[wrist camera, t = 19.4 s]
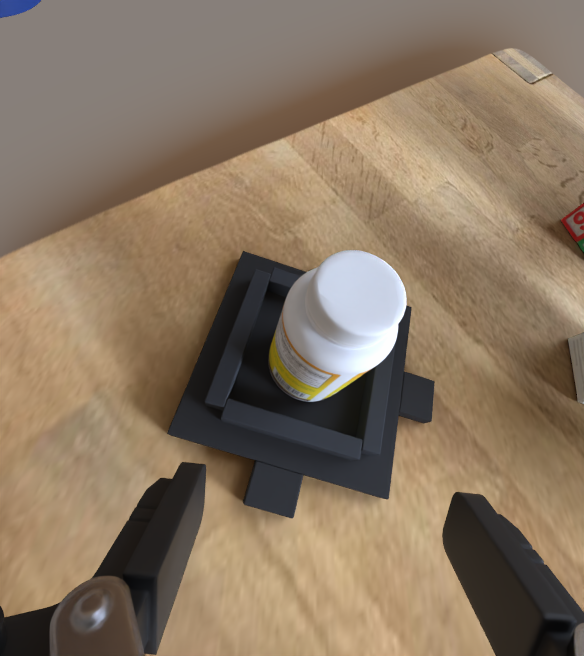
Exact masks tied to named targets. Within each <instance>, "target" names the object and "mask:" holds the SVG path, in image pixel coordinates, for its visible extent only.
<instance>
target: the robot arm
mask: <svg viewBox="0 0 584 656" xmlns="http://www.w3.org/2000/svg"><path fill="white" fill-rule="evenodd" d="M205 481H206V465H205V464H196V463H187V462H182V463H181V464H180V465H179V467H178V469H177V471H176V473H175V475H174V477H173V479H167V478H160V479H159V480H158V481H156V482H155V483H154V484H153V485H151V486H150V487H149V488H148V489H147V490H146V491H145V493H144V494H143V496H142V498H141V499H140V501H139V503H138V504H137V507H136V508H135V509H134V511H133V512H132V514H131V516H130V518H129V521H127V522H126V524H125V526H124V527H123V529H122V531H121V532H120V534H119V535H118V537H117V539H116V540H115V542H114V544H113V545H112V547H111V549H110V550H109V552H108V553H107V555H106V557H105V558H104V560H103V562H102V563H101V565H100V567H99V568H98V570H97V572H96V573H95V574H94V576H93V577H92V578H91V579H90V580H88V581H86V582H84V583H82V584H81V585H79V586H78V587H76V588H75V589H74V590H72V591H71V592H70V593H69V594H68V595H67V596H66V597H65V598H64V599H63V600H62V602H60V603H58V604H56V605H53V606H50V607H47V608H43V609H39V610H35V611H31V612H26V613H22V614H18V615H14V616H9V617H5V618H4V613H3V610H2V608H1V606H0V656H145V654H155V655H156V653H157V650H158V647H159V645H160V642H161V639H162V636H163V633H164V630H165V627H166V624H167V621H168V618H169V615H170V612H171V609H172V606H173V603H174V601H175V598H176V595H177V592H178V589H179V586H180V583H181V580H182V577H183V574H184V571H185V568H186V565H187V562H188V559H189V556H190V554H191V551H192V548H193V545H194V542H195V539H196V536H197V533H198V530H199V527H200V524H201V520H202V515H203V510H204V499H205ZM442 537H443V545H444V549H445V552H446V554H447V556H448V558H449V560H450V562H451V564H452V566H453V568H454V571H455V573H456V575H457V577H458V579H459V581H460V583H461V585H462V587H463V589H464V591H465V593H466V595H467V597H468V599H469V601H470V603H471V605H472V608H473V610H474V612H475V614H476V616H477V618H478V620H479V622H480V624H481V626H482V628H483V630H484V632H485V634H486V636H487V638H488V640H489V642H490V645H491V647H492V649H493V651H494V653H495V655H496V656H584V612H583V611H582V610H581V608H580V607H579V606H578V604H577V603H576V602H575V601H574V599H573V598H572V597H571V596H570V594H569V593H568V592H567V590H566V589H565V588H564V587H563V585H562V584H561V583H560V581H559V580H558V579H557V578H556V576H555V575H554V574H553V573H552V571H551V570H550V569H549V567H548V566H547V565H544V562H543V560H542V558H541V557H540V556H539V555H538V553H537V552H536V551H535V550H533V549H532V546H531V544H530V543H529V542H528V541H527V539H526V538H525V537H524V535H523V534H522V533H521V532H520V530H519V529H518V528H516V527H515V526H514V525H513V524H512V523H511V522H509V521H508V520H507V519H506V518H505V517H503V516H502V515H501V514H497V513H496V511H495V510H494V509H493V507H492V506H491V505H490V503H489V502H488V501H487V499H486V498H485V497H484V496H483V495H480V494H472V493H462V492H456V493H454V495H453V497H452V500H451V504H450V507H449V510H448V514H447V517H446V521H445V524H444V528H443V535H442Z"/></svg>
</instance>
